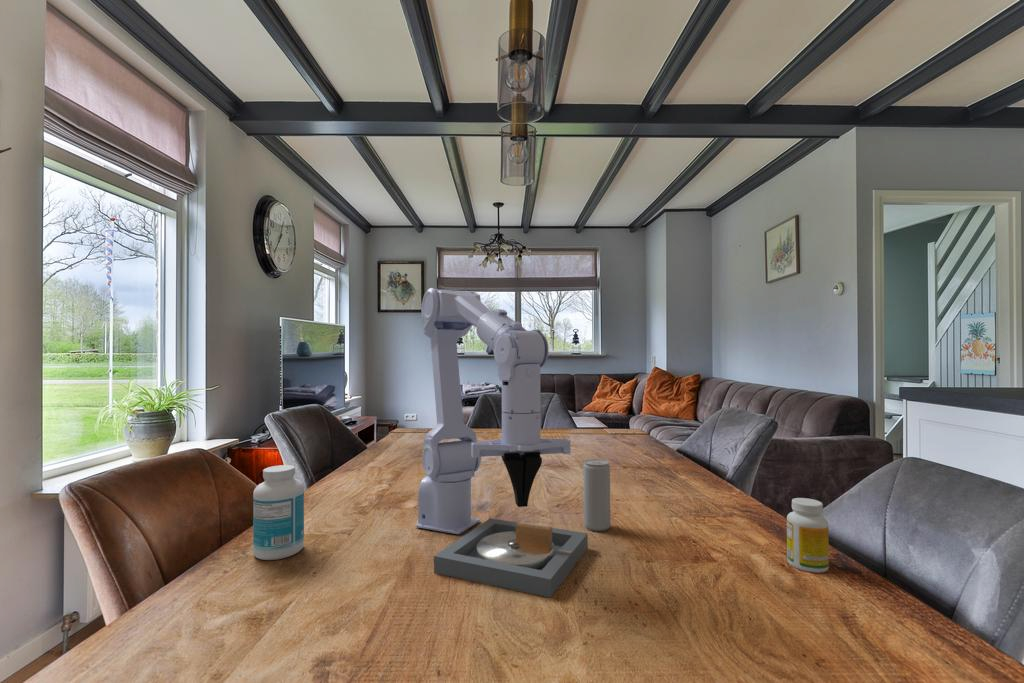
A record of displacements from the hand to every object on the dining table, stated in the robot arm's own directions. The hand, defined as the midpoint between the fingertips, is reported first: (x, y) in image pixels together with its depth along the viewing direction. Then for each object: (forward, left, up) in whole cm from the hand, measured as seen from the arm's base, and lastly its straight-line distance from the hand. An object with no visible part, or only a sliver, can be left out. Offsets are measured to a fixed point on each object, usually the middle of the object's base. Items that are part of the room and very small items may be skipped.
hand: (521, 504), depth 71 cm
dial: (-3, +4, -10) cm, 11 cm away
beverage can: (+5, +23, -10) cm, 25 cm away
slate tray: (-3, +4, -10) cm, 11 cm away
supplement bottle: (+38, +20, -10) cm, 44 cm away
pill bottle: (-39, -9, -10) cm, 41 cm away
